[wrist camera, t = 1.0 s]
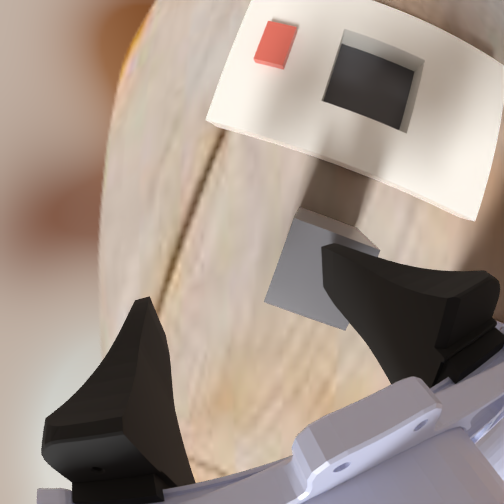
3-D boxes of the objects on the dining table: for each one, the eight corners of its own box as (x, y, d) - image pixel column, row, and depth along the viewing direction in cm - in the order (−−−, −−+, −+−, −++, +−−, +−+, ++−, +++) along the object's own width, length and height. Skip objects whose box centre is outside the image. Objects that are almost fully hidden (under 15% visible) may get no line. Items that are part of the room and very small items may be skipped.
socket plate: (491, 77, 18) (512, 65, 15) (458, 217, 22) (480, 222, 18) (268, -8, 20) (261, -32, 17) (217, 127, 24) (201, 118, 20)
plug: (355, 226, 23) (380, 250, 15) (334, 280, 24) (345, 330, 16) (299, 206, 24) (293, 217, 15) (280, 260, 25) (263, 301, 16)
